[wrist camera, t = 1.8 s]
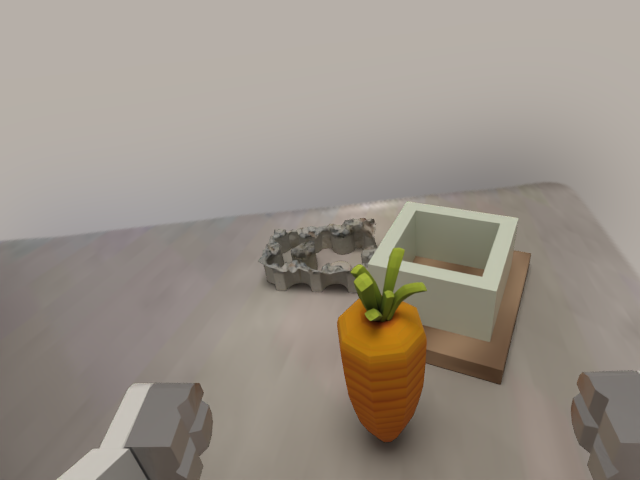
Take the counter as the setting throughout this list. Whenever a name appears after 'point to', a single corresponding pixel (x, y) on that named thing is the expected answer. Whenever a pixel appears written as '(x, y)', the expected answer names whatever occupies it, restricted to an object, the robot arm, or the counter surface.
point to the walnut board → (473, 352)
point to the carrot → (383, 351)
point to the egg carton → (312, 242)
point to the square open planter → (454, 247)
